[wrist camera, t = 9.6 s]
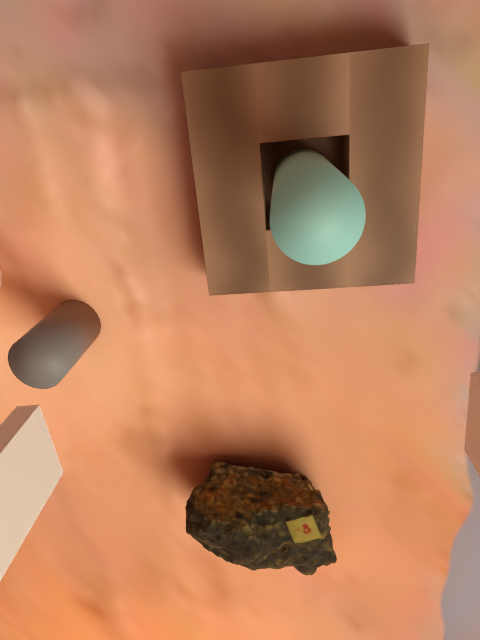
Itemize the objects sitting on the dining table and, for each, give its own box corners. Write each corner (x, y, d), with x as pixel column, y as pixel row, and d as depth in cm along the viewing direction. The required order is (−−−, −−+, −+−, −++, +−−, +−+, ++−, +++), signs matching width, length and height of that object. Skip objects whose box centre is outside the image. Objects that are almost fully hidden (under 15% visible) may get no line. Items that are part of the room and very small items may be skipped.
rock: (199, 607, 39) (181, 557, 34) (193, 511, 46) (177, 461, 42) (342, 575, 40) (342, 523, 35) (313, 486, 47) (310, 434, 42)
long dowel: (275, 209, 33) (272, 268, 20) (271, 150, 32) (266, 174, 19) (331, 205, 33) (365, 262, 20) (330, 145, 31) (366, 165, 18)
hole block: (215, 279, 36) (209, 295, 32) (191, 76, 30) (180, 71, 27) (401, 267, 34) (414, 283, 31) (412, 51, 29) (429, 43, 25)
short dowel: (60, 345, 39) (17, 389, 33) (48, 301, 38) (0, 339, 31) (105, 343, 39) (70, 387, 32) (94, 298, 37) (56, 336, 31)
